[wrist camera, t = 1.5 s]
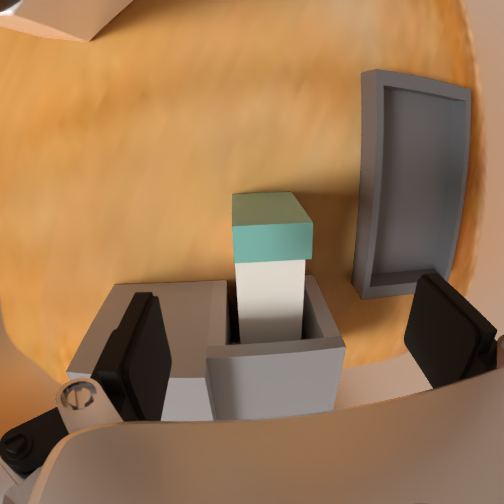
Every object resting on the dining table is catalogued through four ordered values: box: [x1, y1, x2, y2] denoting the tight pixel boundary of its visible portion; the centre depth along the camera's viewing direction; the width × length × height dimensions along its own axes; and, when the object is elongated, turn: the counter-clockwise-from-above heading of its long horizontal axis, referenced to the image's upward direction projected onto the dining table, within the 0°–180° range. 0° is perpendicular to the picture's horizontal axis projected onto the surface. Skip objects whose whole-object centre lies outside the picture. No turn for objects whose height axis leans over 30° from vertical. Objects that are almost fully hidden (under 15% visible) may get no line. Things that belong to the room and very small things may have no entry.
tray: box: [351, 69, 471, 299], centre depth 21 cm, size 16×8×2 cm, turn 2°
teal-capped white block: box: [232, 192, 313, 344], centre depth 21 cm, size 11×4×6 cm, turn 2°
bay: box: [66, 275, 346, 421], centre depth 21 cm, size 7×16×10 cm, turn 92°
